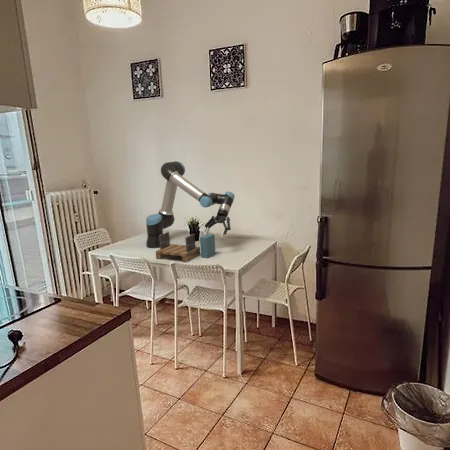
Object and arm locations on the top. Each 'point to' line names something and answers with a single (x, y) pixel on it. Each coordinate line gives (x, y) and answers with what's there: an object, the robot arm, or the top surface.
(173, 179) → the robot arm
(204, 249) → the book
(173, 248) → the shelf
